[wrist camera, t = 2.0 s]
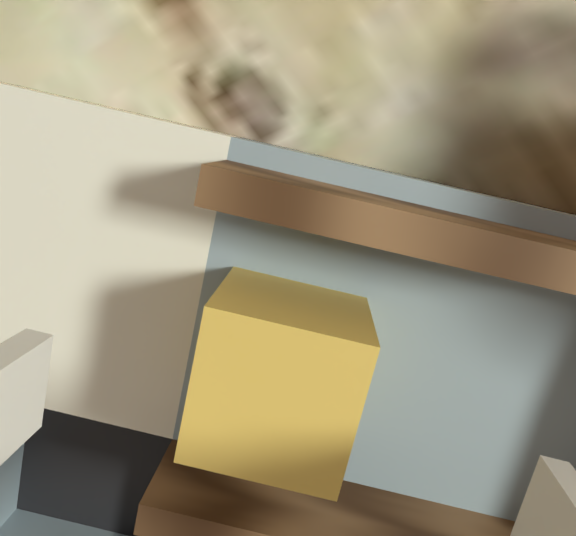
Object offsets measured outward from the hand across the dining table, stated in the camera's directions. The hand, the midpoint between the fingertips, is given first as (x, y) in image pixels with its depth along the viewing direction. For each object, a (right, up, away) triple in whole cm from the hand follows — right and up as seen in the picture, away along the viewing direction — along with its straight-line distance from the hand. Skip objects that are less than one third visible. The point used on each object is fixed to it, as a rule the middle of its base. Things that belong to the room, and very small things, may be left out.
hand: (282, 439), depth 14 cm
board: (0, -1, +9) cm, 9 cm away
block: (0, +2, +6) cm, 6 cm away
